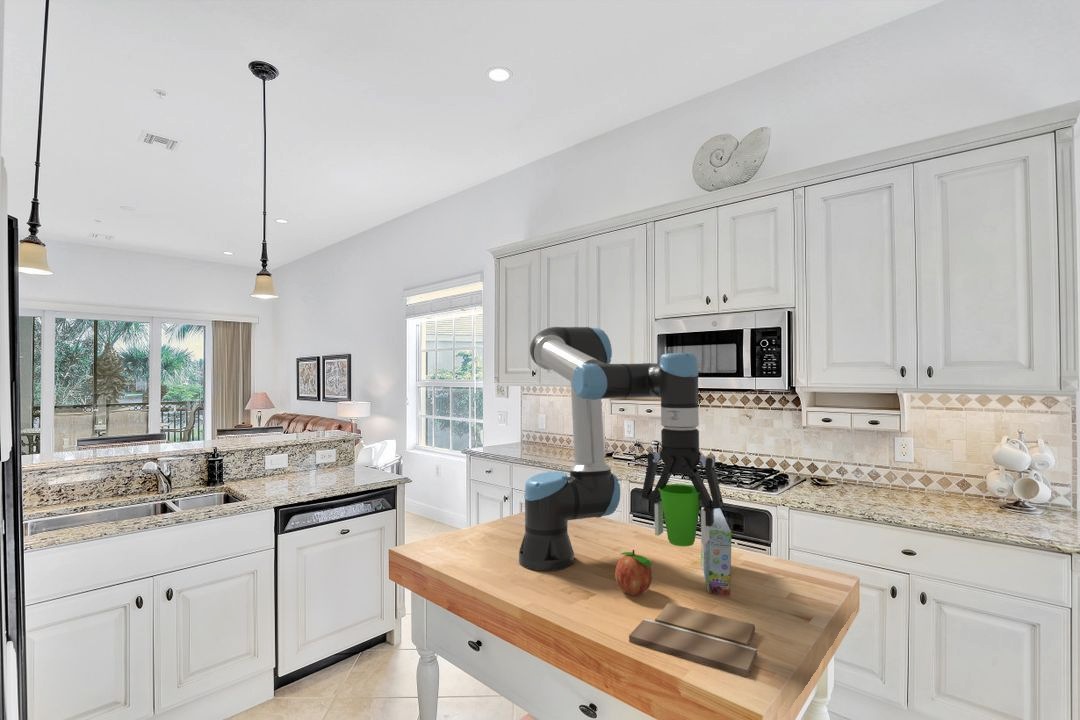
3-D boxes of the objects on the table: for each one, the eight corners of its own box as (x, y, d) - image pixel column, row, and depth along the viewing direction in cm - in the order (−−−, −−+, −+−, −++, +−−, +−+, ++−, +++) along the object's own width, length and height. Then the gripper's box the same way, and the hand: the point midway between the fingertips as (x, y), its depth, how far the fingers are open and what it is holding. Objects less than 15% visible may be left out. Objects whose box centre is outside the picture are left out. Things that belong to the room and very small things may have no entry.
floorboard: (629, 641, 104) (629, 634, 104) (644, 624, 111) (644, 618, 111) (747, 677, 92) (747, 669, 92) (756, 655, 99) (756, 648, 99)
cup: (653, 536, 114) (652, 484, 114) (695, 535, 115) (694, 483, 115) (666, 550, 105) (665, 494, 105) (711, 549, 106) (710, 493, 106)
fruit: (631, 604, 120) (630, 559, 120) (606, 588, 129) (606, 546, 129) (661, 596, 124) (660, 553, 124) (635, 581, 133) (635, 541, 133)
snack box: (733, 596, 124) (732, 531, 124) (707, 594, 125) (707, 530, 125) (721, 562, 145) (720, 506, 145) (699, 561, 146) (699, 505, 146)
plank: (654, 625, 110) (654, 619, 110) (668, 608, 117) (668, 603, 117) (746, 650, 101) (746, 644, 101) (755, 630, 108) (754, 624, 108)
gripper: (623, 426, 113) (625, 533, 113) (728, 432, 101) (731, 552, 101) (638, 423, 120) (639, 525, 119) (739, 428, 107) (741, 541, 107)
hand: (681, 537), depth 110 cm, fingers closed on cup, 9 cm apart
